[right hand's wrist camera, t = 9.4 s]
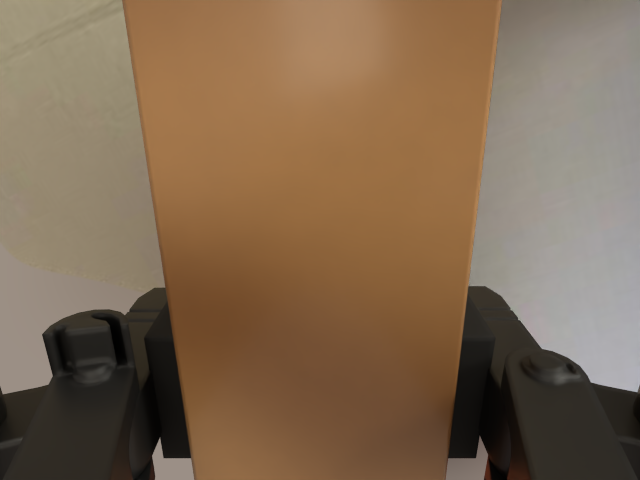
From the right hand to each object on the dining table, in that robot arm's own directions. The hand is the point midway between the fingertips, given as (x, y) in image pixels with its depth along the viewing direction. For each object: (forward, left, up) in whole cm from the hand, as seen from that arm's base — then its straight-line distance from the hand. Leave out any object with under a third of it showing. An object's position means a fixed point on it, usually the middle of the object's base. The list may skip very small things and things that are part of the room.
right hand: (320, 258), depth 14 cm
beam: (-21, -5, -1) cm, 22 cm away
